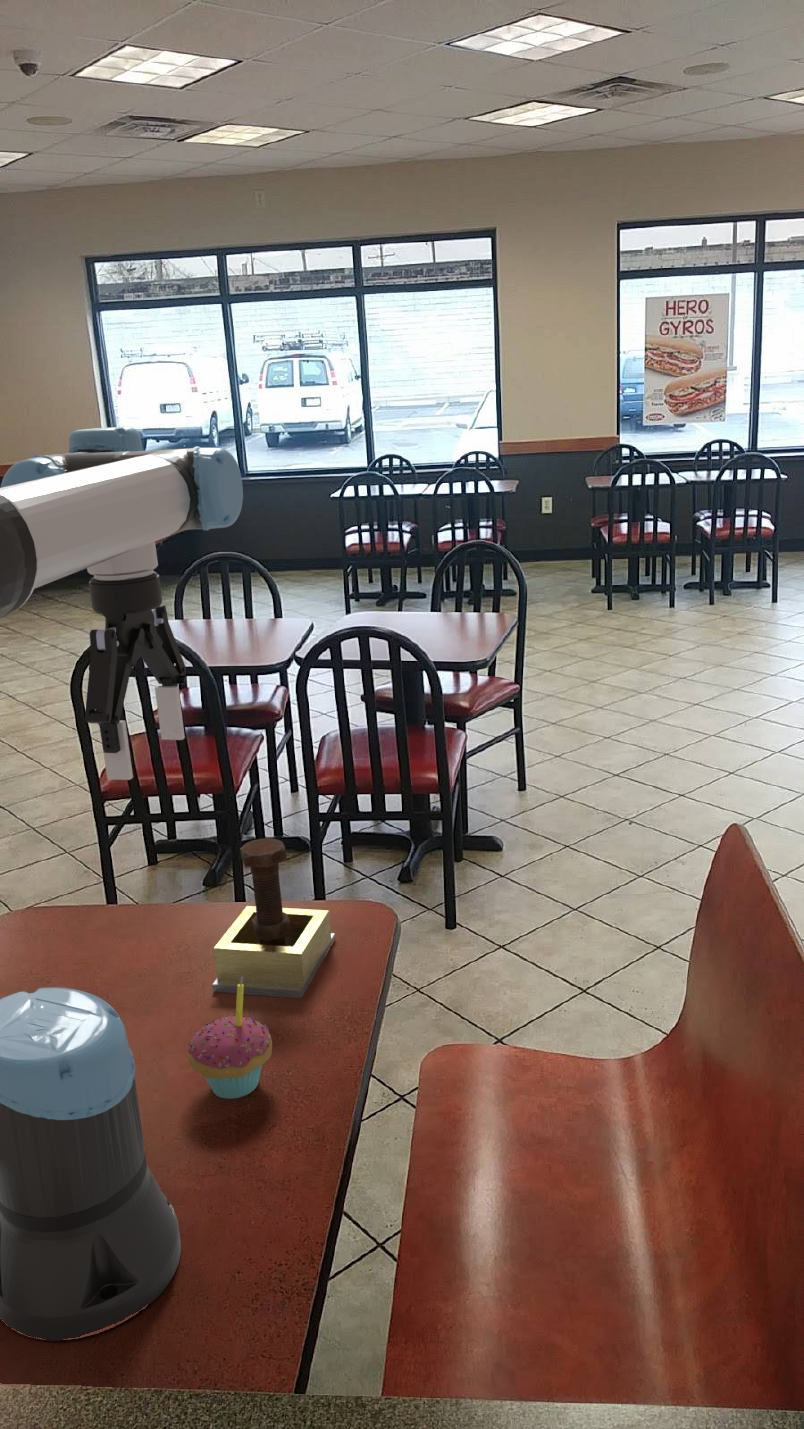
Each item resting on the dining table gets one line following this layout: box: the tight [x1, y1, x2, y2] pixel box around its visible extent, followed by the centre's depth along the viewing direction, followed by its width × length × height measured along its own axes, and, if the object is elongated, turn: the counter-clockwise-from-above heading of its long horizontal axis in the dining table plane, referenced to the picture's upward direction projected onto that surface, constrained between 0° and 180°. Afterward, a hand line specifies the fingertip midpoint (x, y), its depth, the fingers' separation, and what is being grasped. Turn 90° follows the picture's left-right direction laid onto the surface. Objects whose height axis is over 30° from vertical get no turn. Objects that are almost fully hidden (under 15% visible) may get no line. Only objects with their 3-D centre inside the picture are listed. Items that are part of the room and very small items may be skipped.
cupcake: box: [187, 977, 273, 1100], centre depth 112 cm, size 9×8×12 cm
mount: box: [212, 905, 336, 1000], centre depth 136 cm, size 14×11×5 cm
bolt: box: [239, 837, 291, 946], centre depth 134 cm, size 6×5×15 cm
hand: (148, 757), depth 126 cm, fingers open, 13 cm apart
